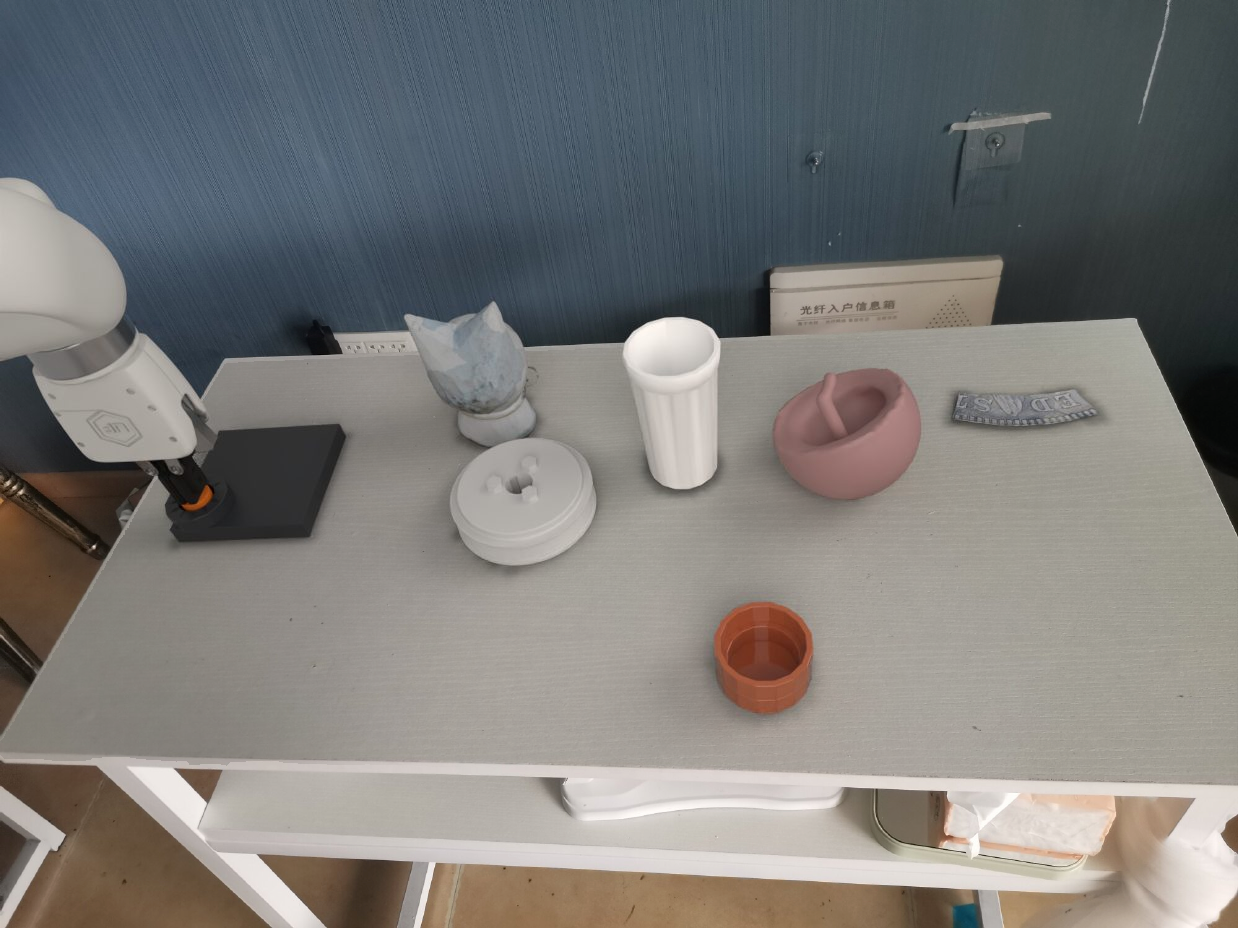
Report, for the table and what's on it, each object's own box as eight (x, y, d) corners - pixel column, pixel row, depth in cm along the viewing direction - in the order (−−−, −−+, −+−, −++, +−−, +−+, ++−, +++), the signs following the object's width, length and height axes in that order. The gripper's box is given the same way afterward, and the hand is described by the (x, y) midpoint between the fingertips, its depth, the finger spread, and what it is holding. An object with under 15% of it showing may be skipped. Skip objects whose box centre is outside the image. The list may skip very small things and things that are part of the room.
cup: (645, 506, 79) (626, 388, 69) (635, 442, 85) (616, 324, 74) (735, 492, 79) (729, 371, 68) (719, 429, 84) (712, 309, 74)
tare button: (210, 515, 82) (202, 505, 81) (182, 517, 82) (174, 506, 81) (221, 493, 84) (213, 482, 83) (193, 494, 84) (185, 483, 83)
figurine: (557, 394, 91) (527, 273, 80) (520, 458, 85) (483, 336, 74) (473, 381, 94) (433, 262, 83) (432, 441, 88) (384, 322, 77)
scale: (308, 540, 81) (293, 515, 79) (174, 545, 83) (155, 522, 81) (346, 436, 90) (333, 411, 88) (224, 443, 92) (208, 419, 90)
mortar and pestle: (805, 413, 84) (808, 317, 76) (931, 451, 79) (949, 352, 71) (750, 500, 78) (748, 406, 70) (883, 547, 73) (898, 452, 64)
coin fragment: (1089, 389, 82) (1090, 386, 81) (1104, 425, 78) (1106, 422, 78) (946, 394, 84) (946, 391, 83) (955, 430, 80) (956, 426, 80)
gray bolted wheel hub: (436, 509, 82) (421, 473, 78) (551, 443, 86) (541, 406, 82) (502, 597, 74) (489, 561, 71) (625, 520, 78) (618, 483, 74)
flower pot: (815, 716, 64) (817, 685, 60) (718, 717, 64) (715, 687, 61) (806, 633, 68) (807, 600, 65) (716, 635, 69) (713, 603, 66)
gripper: (-32, 377, 67) (102, 528, 80) (151, 365, 65) (256, 521, 78) (18, 315, 72) (136, 467, 85) (189, 302, 70) (282, 459, 84)
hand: (193, 492), depth 82 cm, fingers closed
